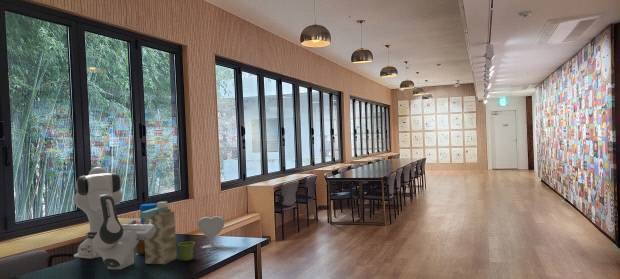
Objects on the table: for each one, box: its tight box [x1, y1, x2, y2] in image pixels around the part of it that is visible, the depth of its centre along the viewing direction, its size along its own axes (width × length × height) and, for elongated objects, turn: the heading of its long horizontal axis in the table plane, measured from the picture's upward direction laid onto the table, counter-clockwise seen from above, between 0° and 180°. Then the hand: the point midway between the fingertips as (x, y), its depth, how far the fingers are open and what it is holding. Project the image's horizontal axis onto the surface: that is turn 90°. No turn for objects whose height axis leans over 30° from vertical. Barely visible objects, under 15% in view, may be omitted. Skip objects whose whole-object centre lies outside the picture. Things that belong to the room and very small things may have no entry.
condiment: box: [134, 240, 145, 256], centre depth 267 cm, size 7×8×12 cm
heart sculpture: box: [197, 215, 225, 249], centre depth 276 cm, size 16×5×18 cm, turn 97°
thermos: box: [139, 202, 158, 225], centre depth 293 cm, size 11×11×25 cm
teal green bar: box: [139, 201, 169, 219], centre depth 243 cm, size 4×21×6 cm, turn 166°
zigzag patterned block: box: [143, 208, 177, 265], centre depth 247 cm, size 12×11×28 cm
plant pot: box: [176, 241, 196, 261], centre depth 248 cm, size 9×9×9 cm
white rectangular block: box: [106, 249, 135, 270], centre depth 240 cm, size 8×11×16 cm
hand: (143, 220), depth 233 cm, fingers open, 8 cm apart
